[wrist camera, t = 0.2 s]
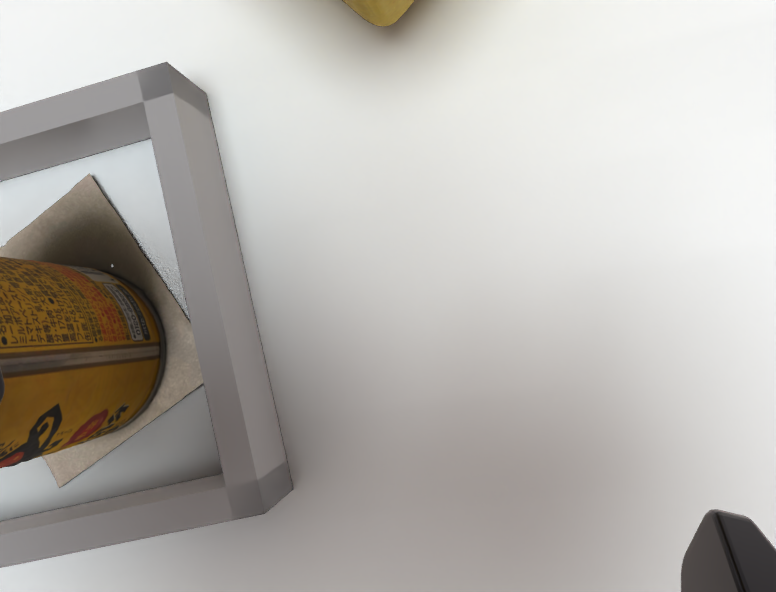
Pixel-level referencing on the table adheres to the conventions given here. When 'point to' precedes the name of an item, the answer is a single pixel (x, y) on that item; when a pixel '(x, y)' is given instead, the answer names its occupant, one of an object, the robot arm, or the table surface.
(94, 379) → the condiment
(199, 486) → the parts tub
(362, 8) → the flower pot
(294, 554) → the table surface
